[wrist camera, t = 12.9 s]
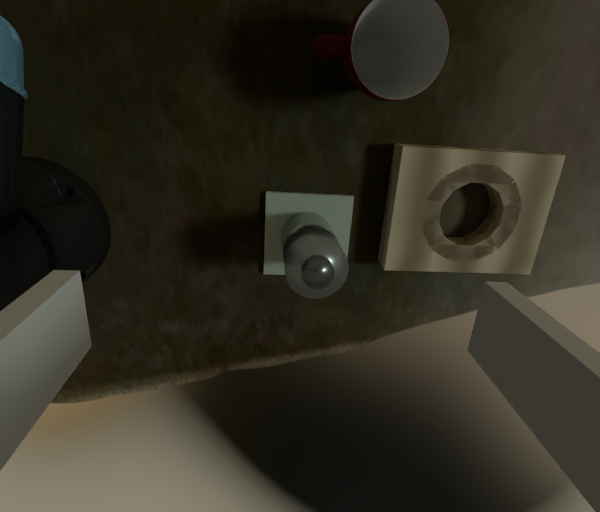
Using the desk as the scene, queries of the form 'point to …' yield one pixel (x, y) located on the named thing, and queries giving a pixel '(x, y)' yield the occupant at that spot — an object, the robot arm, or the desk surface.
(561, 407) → the robot arm
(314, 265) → the gray knobbed peg
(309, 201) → the mat
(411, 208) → the housing
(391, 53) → the mug
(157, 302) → the desk surface
